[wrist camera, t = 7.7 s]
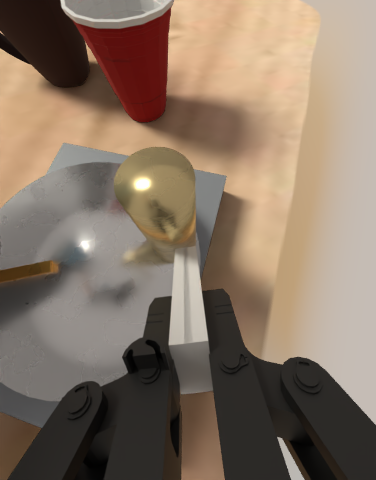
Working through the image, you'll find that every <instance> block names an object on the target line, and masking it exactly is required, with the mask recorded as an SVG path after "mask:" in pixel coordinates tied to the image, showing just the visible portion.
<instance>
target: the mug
mask: <svg viewBox="0 0 376 480" xmlns="http://www.w3.org/2000/svg"><path fill="white" fill-rule="evenodd" d="M0 31H1V32H2V33H3V34H4V35H3V34H1V33H0V48H1V49H2V50H4V51H5V52H7V53H9V54H10V55H12V56H14V57H16V58H18V59H20V60H22V61H24V62H26V63H28V64H31V65H32V66H33V67H34V68H35V69H36V70H37V71H38V72H39V73H41V74H42V75H43V76H44V77H45V78H46V79H47V80H48V81H49V82H50V83H52V84H53V85H55V86H59V87H74V86H79V85H82V84H83V83H84V82H85V80H86V79H87V77H88V74H89V61H88V55H87V50H86V44H85V40H84V38H83V36H82V35H81V34H80V32H79V30H78V28H77V26H76V25H75V24H74V22H73V20H71V18H70V17H69V16H67V15H66V14H65V12H64V10H63V9H62V6H61V1H60V0H0Z"/></svg>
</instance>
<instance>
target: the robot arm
mask: <svg viewBox="0 0 376 480" xmlns="http://www.w3.org/2000/svg"><path fill="white" fill-rule="evenodd" d="M122 359H123V361H124V364H125V366H126V368H127V371H128V373H126V374H125V375H124V376H122V377H120V378H119V379H116V380H114V381H112V382H110V383H108V384H105V385H103V386H101V387H100V385H99V384H98V383H96V382H94V381H85V382H82V383H80V384H78V385H76V386H75V387H73V388H72V389H71V390H69V391H68V392H67V393H66V395H65V396H64V397H63V398H62V399H61V401H60V402H59V404H58V405H57V407H56V408H55V410H54V411H53V413H52V414H51V415H50V417H49V418H48V420H47V421H46V423H45V424H44V426H43V427H42V429H41V430H40V432H39V433H38V435H37V436H36V438H35V439H34V441H33V442H32V444H31V445H30V447H29V448H28V450H27V451H26V453H25V454H24V456H23V457H22V459H21V460H20V462H19V463H18V465H17V466H16V468H15V469H14V471H13V472H12V473H11V475H10V476H9V478H8V479H7V480H181V446H182V412H181V406H180V392H181V395H182V394H191V393H201V392H209V391H213V393H214V400H215V408H216V415H217V423H218V430H219V438H220V445H221V453H222V460H223V468H224V476H225V480H291V478H290V475H289V472H288V469H287V466H286V463H285V460H284V457H283V454H282V451H281V448H280V445H279V442H278V439H277V437H280V438H282V439H283V440H284V442H285V444H286V446H287V448H288V450H289V452H290V454H291V455H292V457H293V459H294V461H295V463H296V465H297V466H298V468H299V470H300V472H301V474H302V475H303V477H304V479H305V480H376V425H375V424H374V423H373V422H372V421H371V419H370V418H369V417H368V416H367V415H366V414H365V413H364V412H363V411H362V410H361V408H360V407H359V406H358V405H357V404H356V403H355V402H354V401H353V400H352V399H351V398H350V396H349V395H348V394H347V393H346V392H345V391H344V390H343V389H342V388H341V387H340V385H339V384H338V383H337V382H335V380H334V379H333V378H332V377H331V376H330V374H329V373H328V372H327V371H326V370H325V369H323V368H322V367H321V366H320V365H319V364H318V363H316V362H314V361H311V360H310V359H307V358H301V357H295V358H290V359H288V360H287V361H285V362H284V364H283V365H281V364H277V363H271V362H267V361H264V360H261V359H259V358H257V357H255V356H254V355H252V354H251V353H250V352H249V351H248V350H247V348H246V347H245V345H244V343H243V340H242V337H241V334H240V330H239V327H238V324H237V320H236V317H235V314H234V311H233V307H232V304H231V301H230V297H229V295H228V294H227V293H226V292H225V291H224V290H223V289H216V290H208V291H202V289H201V281H200V274H199V266H198V259H197V251H196V246H192V247H185V248H177V249H175V259H174V274H173V288H172V296H165V297H157V298H154V300H153V301H152V303H151V304H150V306H149V309H148V314H147V319H146V325H145V329H144V334H143V337H142V338H139V339H137V340H136V341H134V342H132V343H131V344H130V345H129V346H128V347H127V348H126V350H125V352H124V354H123V356H122Z"/></svg>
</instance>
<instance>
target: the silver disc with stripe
mask: <svg viewBox="0 0 376 480" xmlns="http://www.w3.org/2000/svg"><path fill="white" fill-rule="evenodd" d="M192 246H196V251H197V259H198V266H199V274H200V248H199V240H198V236H197V233H196V193H195V173H194V169H193V167H192V165H191V163H190V162H189V161H188V159H187V158H186V157H185V156H183V155H182V154H181V153H179V152H177V151H175V150H172V149H169V148H165V147H151V148H146V149H143V150H140V151H138V152H135V153H134V154H132V155H131V156H129V157H128V158H127V159H126V160H125V161H124V162H123V163H122V164H120V163H110V162H92V163H83V164H78V165H73V166H69V167H66V168H63V169H60V170H57V171H54V172H52V173H50V174H47V175H45V176H43V177H41V178H39V179H38V180H36V181H34V182H32V183H31V184H29V185H28V186H26V187H25V188H24V189H22V190H21V191H19V192H18V193H17V194H16V195H15V196H13V197H12V198H11V199H10V200H9V201H8V202H7V203H6V204H5V205H4V206H3V207H2V208H1V209H0V382H1V383H2V384H4V385H6V386H7V387H9V388H10V389H12V390H13V391H16V392H18V393H21V394H23V395H26V396H28V397H31V398H36V399H40V400H45V401H59V402H60V401H61V399H62V398H63V397H64V396H65V395H66V393H67V392H68V391H69V390H71V389H72V388H73V387H75V386H76V385H78V384H80V383H82V382H85V381H94V382H96V383H98V384H99V385H100V387H101V386H103V385H105V384H108V383H110V382H112V381H114V380H116V379H119V378H120V377H122V376H124V375H125V374H126V373H128V371H127V368H126V366H125V364H124V361H123V359H122V356H123V354H124V352H125V350H126V348H127V347H128V346H129V345H130V344H131V343H132V342H134V341H136V340H137V339H139V338H142V337H143V334H144V329H145V325H146V319H147V314H148V309H149V306H150V304H151V303H152V301H153V300H154V298H157V297H165V296H172V288H173V274H174V259H175V249H177V248H185V247H192Z"/></svg>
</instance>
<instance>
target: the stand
mask: <svg viewBox="0 0 376 480" xmlns="http://www.w3.org/2000/svg"><path fill="white" fill-rule="evenodd" d="M128 157H129V156H126V155H121V154H116V153H111V152H107V151H102V150H97V149H92V148H87V147H82V146H77V145H72V144H67V143H63V145H62V147H61V148H60V150H59V152H58V154H57V155H56V157H55V159H54V161H53V163H52V164H51V166H50V168H49V170H48V172H47V173H46V175H47V174H50V173H52V172H54V171H57V170H60V169H63V168H66V167H69V166H73V165H78V164H83V163H92V162H110V163H120V164H122V163H123V162H124V161H125V160H126V159H127V158H128ZM194 173H195V193H196V233H197V236H198V240H199V248H200V281H201V277H202V273H203V269H204V265H205V261H206V257H207V253H208V249H209V246H210V242H211V238H212V234H213V230H214V226H215V222H216V218H217V214H218V210H219V206H220V202H221V198H222V194H223V190H224V185H225V181H226V176H224V175H219V174H214V173H209V172H204V171H200V170H195V169H194ZM58 404H59V401H45V400H40V399H36V398H31V397H28V396H26V395H23V394H21V393H18V392H16V391H13V390H12V389H10V388H9V387H7V386H6V385H4V384H2V383H1V382H0V412H2V413H4V414H7V415H9V416H12V417H15V418H17V419H20V420H22V421H25V422H27V423H30V424H32V425H35V426H37V427H40V428H42V427H43V426H44V424H45V423H46V421H47V420H48V418H49V417H50V415H51V414H52V413H53V411H54V410H55V408H56V407H57V405H58Z"/></svg>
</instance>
